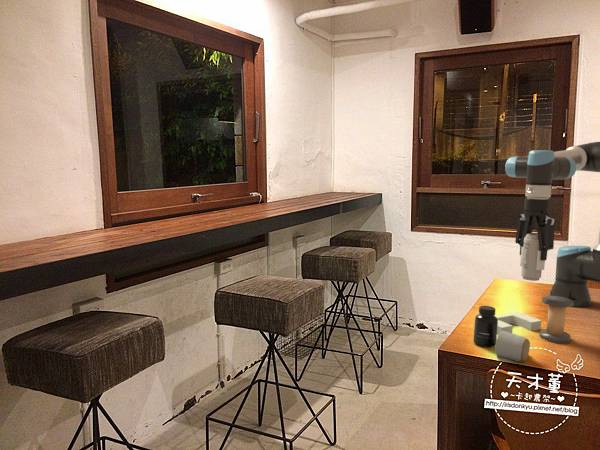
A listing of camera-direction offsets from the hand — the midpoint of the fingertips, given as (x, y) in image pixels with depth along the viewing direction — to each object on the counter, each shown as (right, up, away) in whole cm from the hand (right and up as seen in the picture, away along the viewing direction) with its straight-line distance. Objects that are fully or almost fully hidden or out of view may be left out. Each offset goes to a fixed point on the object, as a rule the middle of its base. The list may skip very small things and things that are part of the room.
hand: (531, 267), depth 164 cm
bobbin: (+7, -23, -1) cm, 24 cm away
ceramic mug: (-14, -26, -16) cm, 33 cm away
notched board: (-4, -22, +8) cm, 23 cm away
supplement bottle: (-18, -24, -6) cm, 31 cm away
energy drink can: (0, -4, +1) cm, 4 cm away
